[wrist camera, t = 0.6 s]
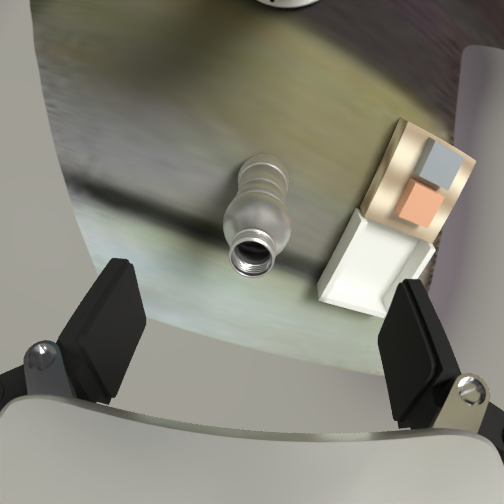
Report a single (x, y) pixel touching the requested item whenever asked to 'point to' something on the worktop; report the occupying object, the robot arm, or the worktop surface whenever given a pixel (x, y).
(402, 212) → the terracotta tile
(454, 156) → the slate tile
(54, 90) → the worktop surface
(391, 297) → the box
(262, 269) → the plastic bottle
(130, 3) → the worktop surface
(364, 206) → the plate
